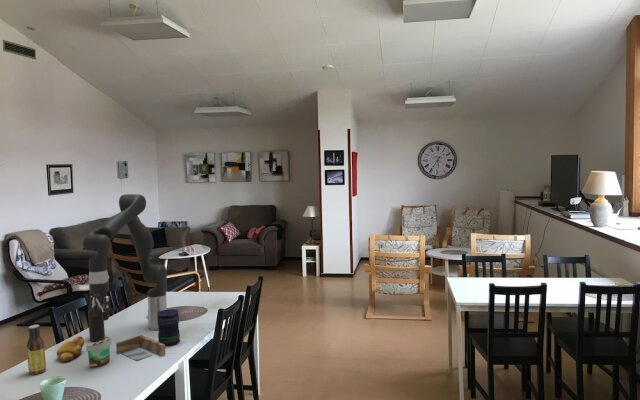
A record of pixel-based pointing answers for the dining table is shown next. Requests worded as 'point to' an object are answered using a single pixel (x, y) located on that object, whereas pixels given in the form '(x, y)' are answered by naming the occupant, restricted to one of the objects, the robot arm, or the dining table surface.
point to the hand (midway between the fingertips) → (100, 318)
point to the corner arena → (132, 345)
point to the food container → (99, 353)
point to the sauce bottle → (35, 351)
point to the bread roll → (70, 349)
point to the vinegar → (96, 326)
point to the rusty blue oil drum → (168, 327)
